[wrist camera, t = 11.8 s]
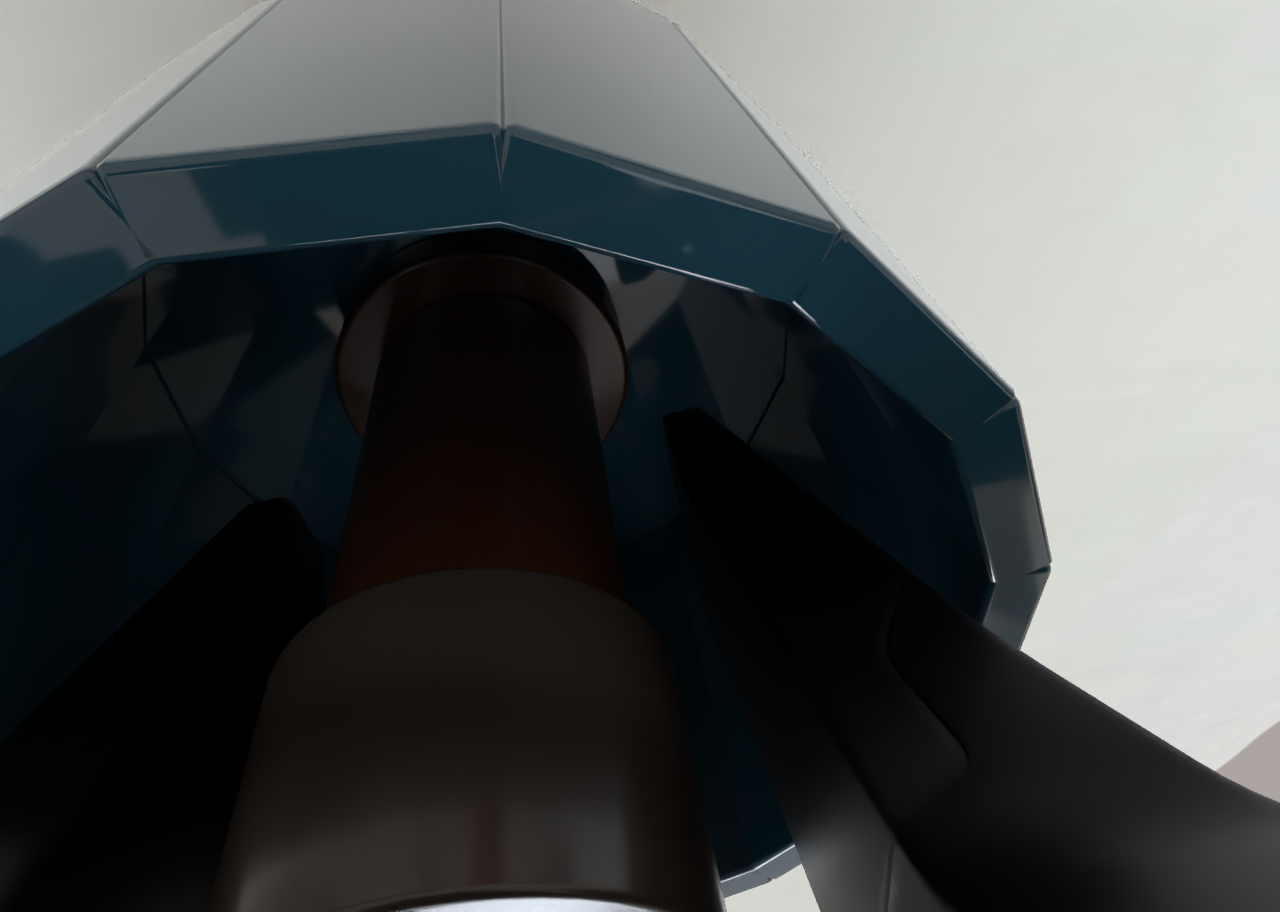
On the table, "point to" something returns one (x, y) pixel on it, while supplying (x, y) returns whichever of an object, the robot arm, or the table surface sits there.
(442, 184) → the faceted blue grey bowl
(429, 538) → the flanged grey cylinder
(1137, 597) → the table surface
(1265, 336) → the table surface
